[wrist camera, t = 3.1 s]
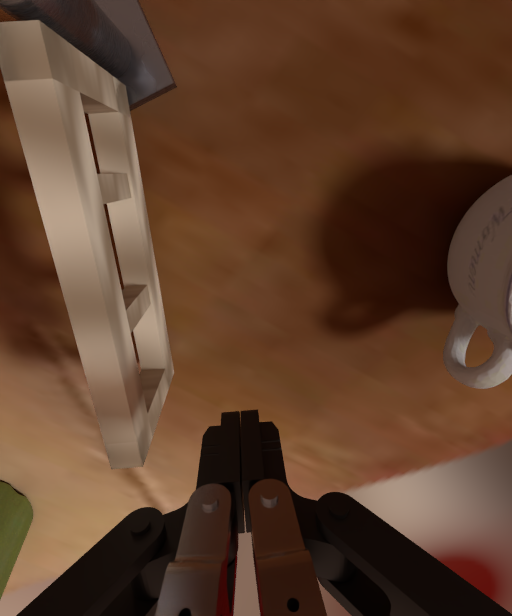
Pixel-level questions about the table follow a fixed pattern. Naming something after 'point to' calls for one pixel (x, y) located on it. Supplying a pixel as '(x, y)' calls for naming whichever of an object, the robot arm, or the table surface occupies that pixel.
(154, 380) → the gate
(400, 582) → the robot arm
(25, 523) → the plant pot
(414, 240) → the table surface
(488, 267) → the teacup
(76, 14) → the hinge post
